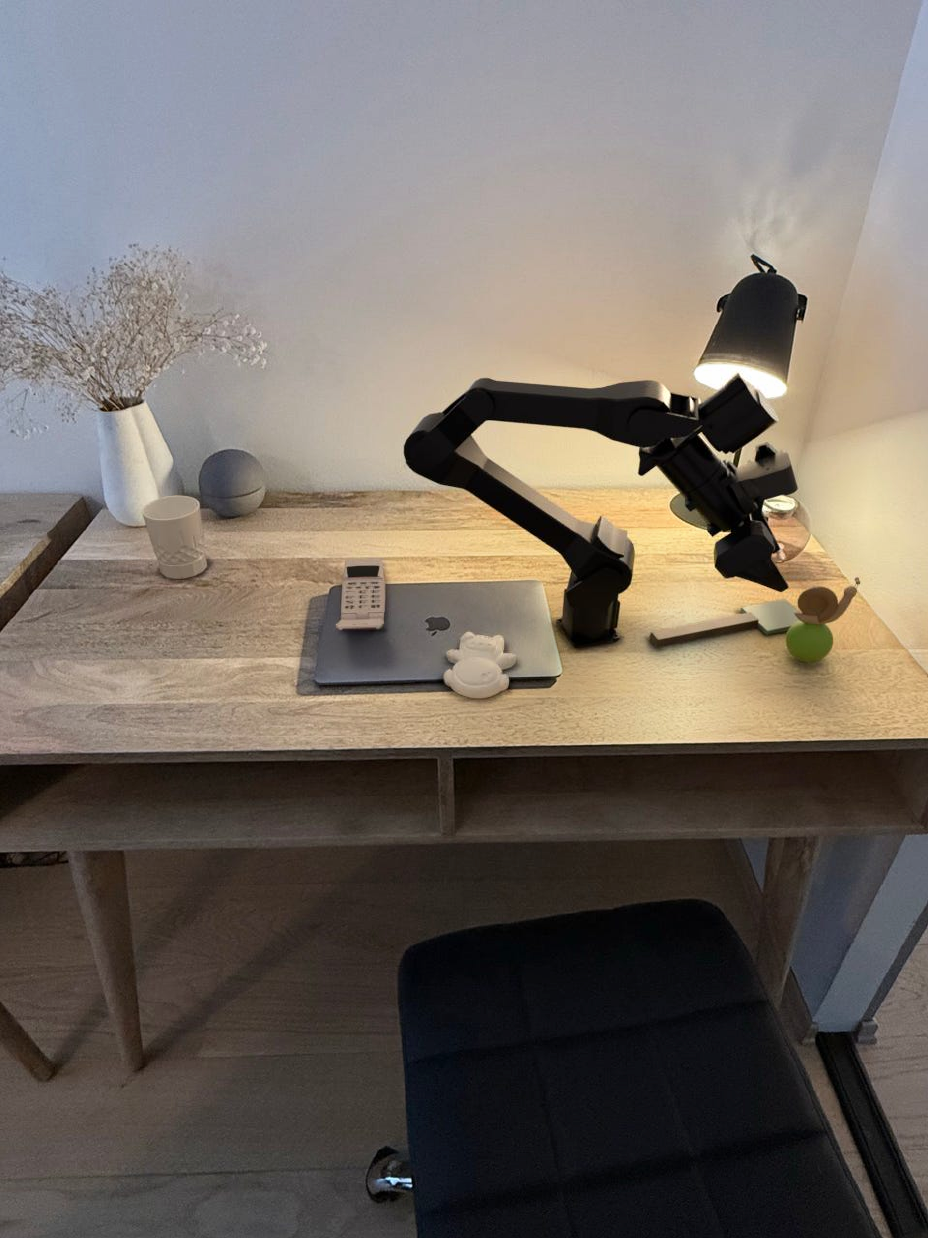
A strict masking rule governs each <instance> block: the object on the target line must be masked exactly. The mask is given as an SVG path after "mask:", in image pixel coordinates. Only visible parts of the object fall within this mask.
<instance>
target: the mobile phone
mask: <svg viewBox="0 0 928 1238" xmlns="http://www.w3.org/2000/svg"><path fill="white" fill-rule="evenodd" d="M340 600H341V603H340V604H341V605H340V613H341V614H340V620H339V621H338V622H337V623H335V627H336V629H338V630H339V631H367V630H368V631H369V630H370V631H371V630H381V629H382V628H383V626H384V624H385V620H384V619H385V612H386V577H385V568H384V561H383V558H382V557H361V558H360V557H358V558H356V557H355V558H345V561H344V569H343V572H342V585H341V599H340Z"/></svg>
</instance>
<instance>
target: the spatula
mask: <svg viewBox="0 0 928 1238" xmlns="http://www.w3.org/2000/svg"><path fill="white" fill-rule="evenodd" d="M795 612H799V613H802V612H801V610H798V609H797V608H796V607H795V606H794V605H793V604H791V603H790V602H788V601H787V600H786V599H785V598H783V599H778V600H773V601H768V602H763V603H758V604H752V605H748V606H743V607H741V608H740V613H739V614H733V615H727V616H724V617H719V618H713V619H709V620H708V619H707V620H703V621H699V622H698V621H697V622H693V623H688V624H682V625H678V626H673V627H672V626H671V627H668V628H662V629H657V630H651V631H650V634H649V640H650V642H651V643H653V645H654V646H655V647H656V648H660V647H665V646H666V647H667V646H671V645H677V644H680V643H685V642H690V641H696V640H701V639H705V638H710V637H714V636H721V635H725V634H730V633H735V632H740V631H744V630H751V629H754V628H758V629H759V630H760V631H761V632H762V633H763V634H765V635H766V636H770V635H775V634H778V633H784V632H788V630H789V629H790V627H791V626H792V625H793V624H794V623H796V622H797V621H799V619H798V618H797V617H796V616H795Z"/></svg>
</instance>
